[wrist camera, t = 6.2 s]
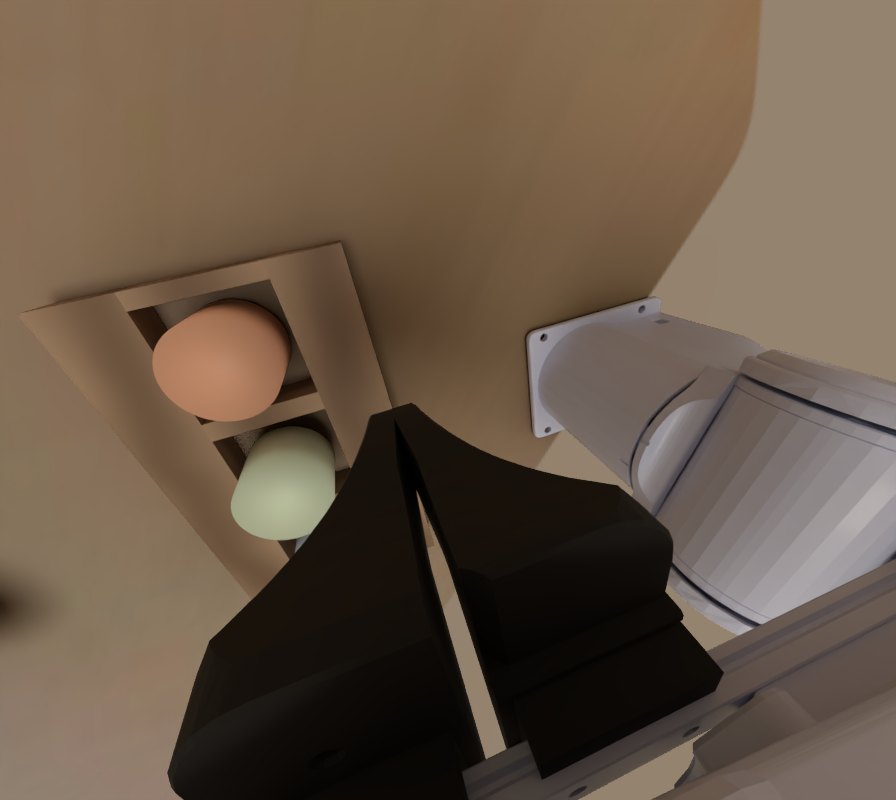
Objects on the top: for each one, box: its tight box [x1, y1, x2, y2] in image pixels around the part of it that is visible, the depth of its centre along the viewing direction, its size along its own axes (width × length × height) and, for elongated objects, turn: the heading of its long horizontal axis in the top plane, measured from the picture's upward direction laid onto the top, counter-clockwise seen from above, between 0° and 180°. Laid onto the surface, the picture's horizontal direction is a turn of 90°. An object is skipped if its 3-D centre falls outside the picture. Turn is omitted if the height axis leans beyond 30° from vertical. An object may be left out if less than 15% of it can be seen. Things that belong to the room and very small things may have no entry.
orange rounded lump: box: [152, 300, 291, 422], centre depth 15 cm, size 4×4×4 cm
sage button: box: [231, 426, 335, 540], centre depth 18 cm, size 4×4×4 cm
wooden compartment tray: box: [18, 241, 434, 599], centre depth 19 cm, size 12×20×2 cm, turn 10°
